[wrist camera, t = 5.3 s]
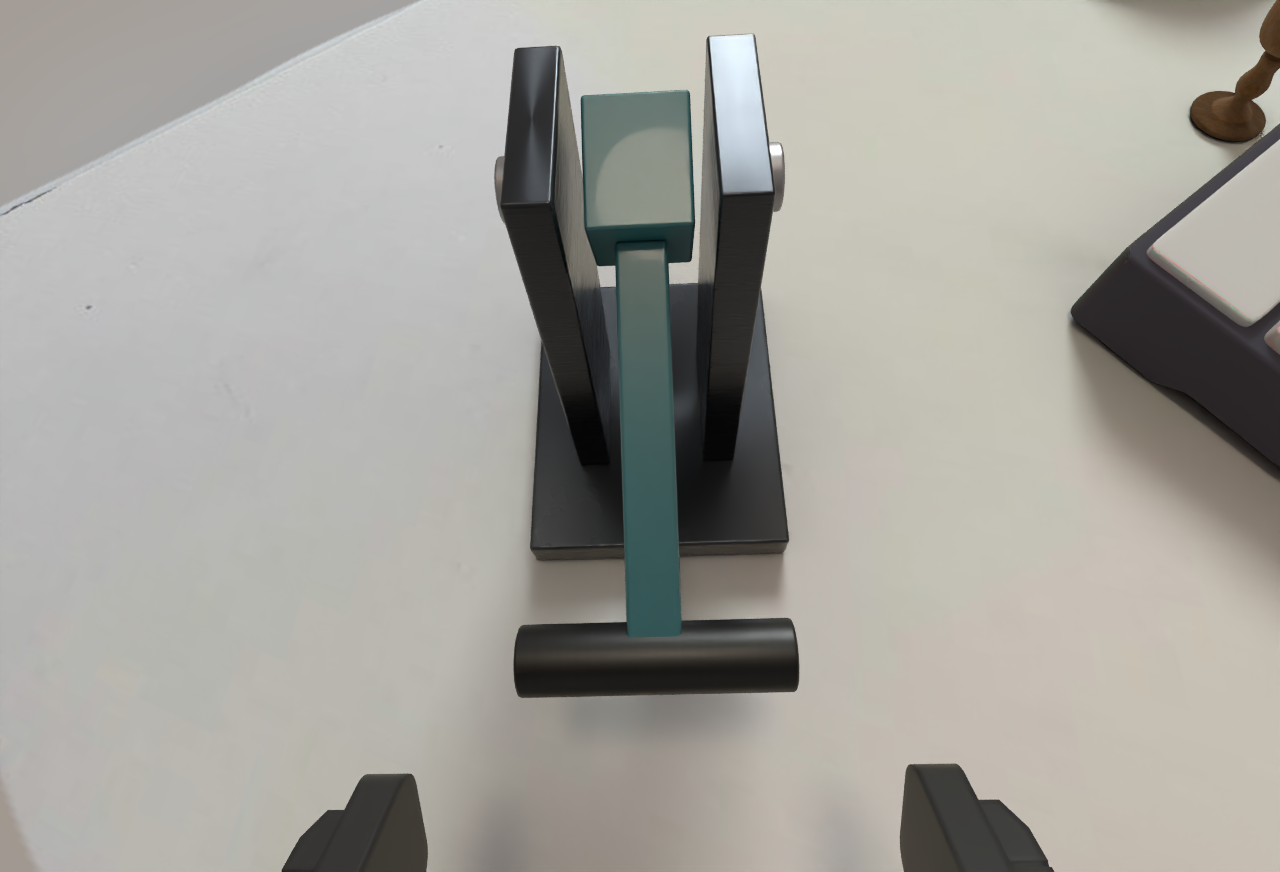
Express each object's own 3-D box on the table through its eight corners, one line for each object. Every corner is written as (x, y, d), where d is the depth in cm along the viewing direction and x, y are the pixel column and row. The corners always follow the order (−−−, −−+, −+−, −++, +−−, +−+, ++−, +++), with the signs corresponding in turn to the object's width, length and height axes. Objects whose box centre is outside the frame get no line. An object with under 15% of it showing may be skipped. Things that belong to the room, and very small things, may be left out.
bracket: (784, 553, 23) (888, 319, 11) (536, 560, 23) (395, 340, 12) (757, 299, 27) (812, -54, 16) (548, 308, 28) (455, -32, 16)
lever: (785, 675, 16) (806, 708, 13) (532, 680, 16) (508, 714, 14) (760, 141, 17) (775, 83, 14) (520, 153, 17) (496, 98, 14)
